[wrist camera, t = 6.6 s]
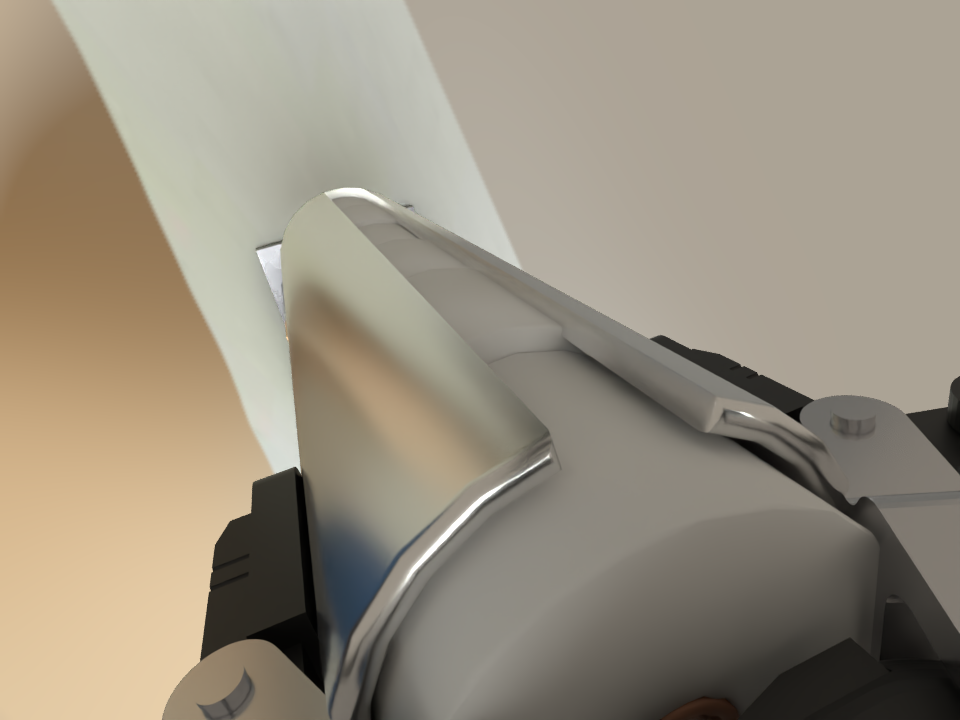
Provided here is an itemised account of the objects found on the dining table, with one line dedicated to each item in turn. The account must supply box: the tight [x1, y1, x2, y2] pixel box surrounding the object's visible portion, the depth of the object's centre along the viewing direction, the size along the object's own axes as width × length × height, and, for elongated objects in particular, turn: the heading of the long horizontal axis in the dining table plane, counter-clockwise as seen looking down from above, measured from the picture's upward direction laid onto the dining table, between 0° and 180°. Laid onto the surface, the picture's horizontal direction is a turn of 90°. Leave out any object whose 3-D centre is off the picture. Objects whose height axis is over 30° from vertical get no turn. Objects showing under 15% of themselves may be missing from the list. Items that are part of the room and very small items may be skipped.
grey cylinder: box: [280, 188, 880, 720], centre depth 17 cm, size 6×6×25 cm
